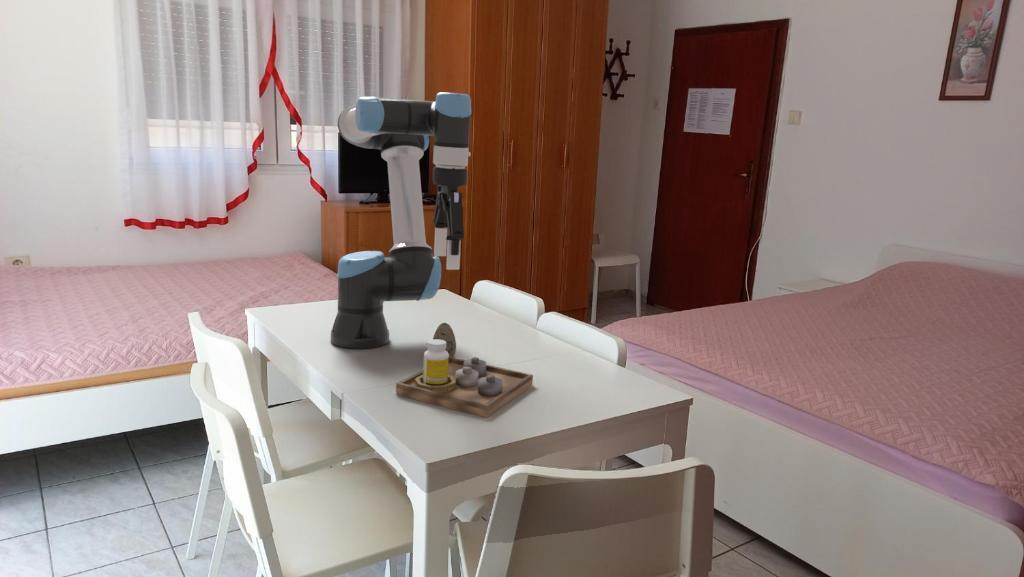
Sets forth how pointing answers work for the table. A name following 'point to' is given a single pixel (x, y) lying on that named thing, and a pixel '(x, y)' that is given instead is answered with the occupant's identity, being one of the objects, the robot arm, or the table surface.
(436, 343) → the supplement bottle
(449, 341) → the decorative egg
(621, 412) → the table surface
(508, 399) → the carrier
